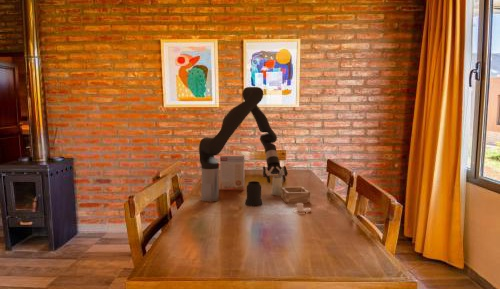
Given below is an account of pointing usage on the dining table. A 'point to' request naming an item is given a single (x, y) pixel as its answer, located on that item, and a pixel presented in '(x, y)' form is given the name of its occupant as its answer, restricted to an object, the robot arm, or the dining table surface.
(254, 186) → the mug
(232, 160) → the cracker box
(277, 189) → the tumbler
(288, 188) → the crate
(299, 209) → the teacup and saucer
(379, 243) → the dining table surface
